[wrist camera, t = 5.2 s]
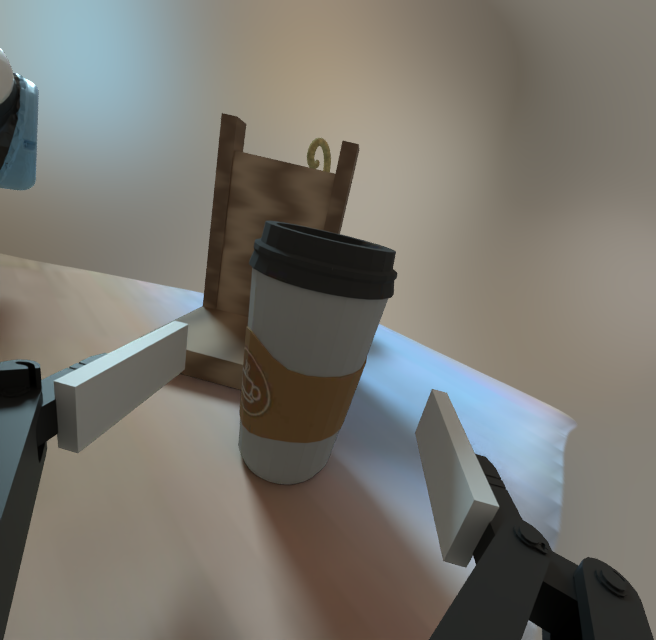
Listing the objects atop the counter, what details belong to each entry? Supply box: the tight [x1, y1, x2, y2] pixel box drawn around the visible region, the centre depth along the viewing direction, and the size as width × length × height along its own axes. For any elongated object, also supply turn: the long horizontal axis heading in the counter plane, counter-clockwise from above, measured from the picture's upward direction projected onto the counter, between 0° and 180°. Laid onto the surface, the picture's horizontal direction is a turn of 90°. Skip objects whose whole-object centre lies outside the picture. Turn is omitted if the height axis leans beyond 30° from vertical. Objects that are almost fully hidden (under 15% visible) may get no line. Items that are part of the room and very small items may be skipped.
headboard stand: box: [140, 113, 359, 390], centre depth 30 cm, size 14×13×23 cm
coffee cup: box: [238, 221, 397, 484], centre depth 19 cm, size 8×8×15 cm
